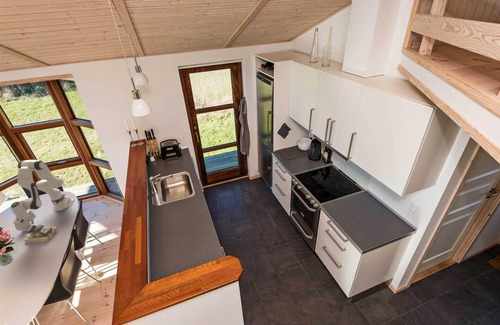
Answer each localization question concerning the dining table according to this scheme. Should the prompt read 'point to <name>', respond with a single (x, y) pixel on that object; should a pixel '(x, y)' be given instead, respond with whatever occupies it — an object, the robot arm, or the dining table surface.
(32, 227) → the knob
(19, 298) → the dining table surface
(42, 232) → the knob
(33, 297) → the dining table surface
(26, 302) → the dining table surface
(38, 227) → the knob
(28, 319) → the dining table surface
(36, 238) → the panel
